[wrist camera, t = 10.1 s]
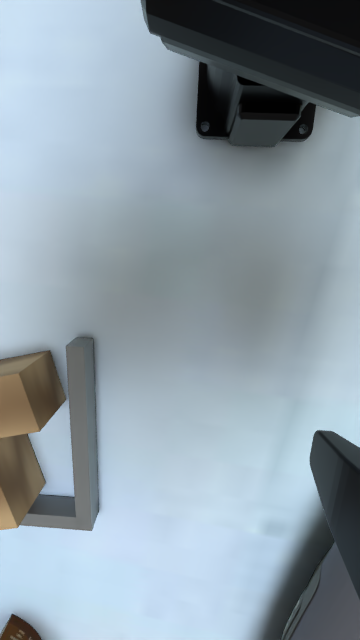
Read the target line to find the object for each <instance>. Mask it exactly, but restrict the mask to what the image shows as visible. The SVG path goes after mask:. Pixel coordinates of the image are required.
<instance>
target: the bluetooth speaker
mask: <svg viewBox="0 0 360 640" xmlns="http://www.w3.org/2000/svg"><path fill="white" fill-rule="evenodd" d="M281 640H360V601H359V598H358V596H357V594H356V591H355V589H354V586H353V584H352V582H351V579H350V577H349V574H348V572H347V570H346V567H345V565H344V562H343V560H342V558H341V555H340V553H339V550H338V548H337V545H336V543H335V542H334V544H333V545H332V547H331V549H330V550H329V551H328V552H327V553H326V555H325V556H324V557H323V558H322V560H321V562H320V563H319V565H318V566H317V568H316V569H315V571H314V573H313V575H312V577H311V579H310V581H309V583H308V585H307V587H306V588H305V590H304V591H303V593H302V595H301V596H300V598H299V600H298V602H297V604H296V606H295V607H294V609H293V611H292V613H291V615H290V618H289V620H288V622H287V624H286V627H285V629H284V631H283V635H282V639H281Z"/></svg>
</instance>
